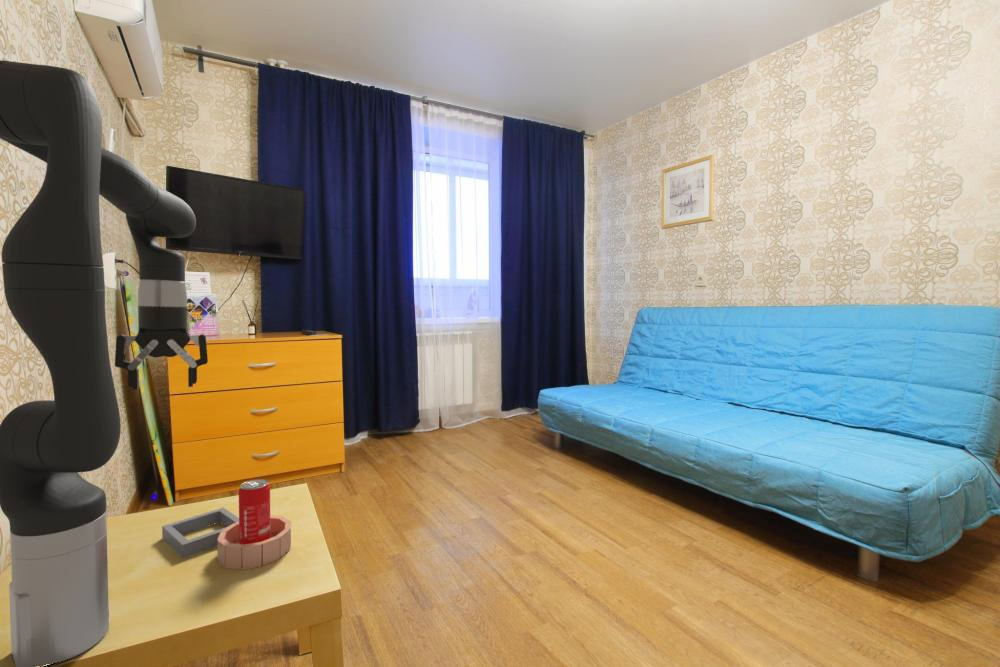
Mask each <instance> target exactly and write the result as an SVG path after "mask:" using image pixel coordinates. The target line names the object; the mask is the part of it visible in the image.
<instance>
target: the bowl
mask: <svg viewBox="0 0 1000 667" xmlns="http://www.w3.org/2000/svg"><path fill="white" fill-rule="evenodd" d="M291 545H292V521H291V520H289V519H288V518H286V517H284V516H281V515H271V514H270V539H267V540H265V541H262V542H257V543H251V544H239V522H236V523H233V524H232V525H230V526H229V527H227V528H226V529H224V530H222V531H221V532H220V535H219V537H218V540H217V546H216V547H217V563H218V564H220V565H221V566H222V567H223V568H225V569H232V570H247V569H253V568H259V567H260V568H261V567H263V566H266V565H269V564H270V563H273V562H276V561H277V560H280V559H281V558H282V557H283V556H285V555H286V554H287V553H288V552H289V551H290V550H291V548H290V547H291ZM288 550H289V551H288ZM286 552H287V553H286ZM285 553H286V554H285Z"/></svg>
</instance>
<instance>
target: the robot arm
mask: <svg viewBox="0 0 1000 667" xmlns="http://www.w3.org/2000/svg"><path fill="white" fill-rule="evenodd" d="M95 92H96V91H95V90H94V88H93V87H92V85H91V84H90V82H89V81H88V80H87V79H86V78H85V76H83V75H82V74H81V73H80V72H77V71H75V70H73V69H69V68H66V67H59V66H55V65H54V66H53V65H48V64H47V65H45V64H37V63H36V64H35V63H28V62H27V63H26V62H18V61H17V62H16V61H10V60H1V59H0V139H1V140H2V141H4V142H7V143H8V144H10V145H12V146H14V147H15V148H17V149H19V150H22V151H23V152H26V153H28V154H30V155H31V156H33V157H36V158H37V159H38V160H41V161H43V162H44V163H46V169H45V170H46V172H45V175H44V179H43V183H42V185H41V187H40V189H39V190H38V193H37V194H36V196H35V197H34V199H33V200H32V201H31V203H30V204H29V206H28V207H27V208H26V209H25V211H24V212H23V213H22V214H21V215H20V217H19V218H18V220H17V221H16V222H15V224H14V225H13V227H12V228H11V230H10V231H9V232H8V234H7V236H6V238H5V240H4V242H3V245H2V248H1V262H2V263H1V264H2V266H1V268H2V276H3V278H2V280H3V288H4V289H3V290H4V297H5V301H6V305H7V306H8V309H9V310H10V312H11V315H12V316H13V318H14V320H15V321H16V322H17V324H18V325H19V327H20V328H21V330H22V331H23V332H24V334H25V335H26V336H27V337H28V339H29V340H30V341H31V343H32V344H33V345H34V347H35V348H36V349H37V350H38V352H39V354H40V355H41V356H42V358H43V360H44V362H45V364H46V366H47V368H48V371H49V374H50V378H51V382H52V388H53V399H54V400H50V399H49V400H44V399H43V400H34V401H29V402H26V403H23V404H21V405H18V406H16V407H15V408H13V409H11V411H10V412H9V413H8V414H6V415H5V417H4V418H3V419H2V421H1V422H0V509H1V511H2V513H3V514H4V516H5V517H6V518H7V520H8V522H9V534H10V535H9V536H10V540H9V542H10V566H11V581H10V582H9V585H8V587H9V614H10V615H9V618H10V619H9V620H10V643H11V644H10V645H11V646H10V647H11V650H10V652H11V651H12V652H11V655H13V656H12V658H14V659H13V661H15V663H14V664H15V665H16V666H15V665H14V666H15V667H36V666H43V665H46V664H52V663H57V662H60V663H62V662H61V661H63V662H65V660H66V661H67V659H68V660H70V659H72V658H74V657H77V656H79V655H81V654H83V653H84V652H86V651H88V650H90V649H91V648H92V647H94V646H95V645H97V644H98V643H99V642H100V641H101V640H102V639H104V637H105V636H106V634H107V633H108V631H109V627H110V609H109V608H110V607H109V578H108V577H109V573H108V572H109V568H108V567H109V566H108V564H109V563H108V529H107V528H108V527H107V526H108V524H107V523H108V522H107V521H108V520H107V495H106V493H105V491H104V490H103V489H102V488H101V487H100V486H97V485H96V484H93V483H92V482H89V481H87V480H86V479H84V477H82V476H81V475H80V474H79V473H87V472H92V471H95V470H98V469H100V468H101V467H103V466H105V465H106V464H107V463H108V462H109V461H110V460H111V459H112V457H113V456H114V455H115V452H116V450H117V449H118V446H119V442H120V439H121V428H122V427H121V424H122V423H121V415H120V409H119V404H118V403H119V402H118V398H117V393H116V388H115V383H114V378H113V372H112V367H111V360H110V354H109V353H110V352H109V342H108V340H109V339H108V331H107V321H106V320H107V318H106V317H107V316H106V290H105V289H106V286H105V271H104V270H105V269H104V259H103V258H104V257H103V250H102V249H103V248H102V238H101V236H102V235H101V234H102V233H101V221H100V220H101V219H100V218H101V217H100V196H101V197H103V198H104V199H105V200H106V201H108V202H109V203H110V204H111V205H113V206H114V207H115V208H117V209H118V210H119V211H121V212H122V213H124V214H125V220H126V223H127V226H128V229H129V231H130V234H131V236H132V239H133V243H134V246H135V248H136V253H137V256H138V272H139V274H138V275H139V276H138V278H139V279H138V280H139V281H138V288H137V289H138V290H137V310H138V311H137V320H138V323H137V324H138V327H137V328H138V329H137V330H138V332H137V334H136V335H126V334H123V333H122V334H119V335H117V336H116V338H115V339H116V340H115V355H114V357H115V358H114V366H115V367H116V368H121V369H125V370H126V371H127V384H128V387H129V388H132V390H133V391H138V390H139V389H140V370H139V369H138V367H139V366H140V365H141V364H142V362H143V361H145V360H146V358H147V357H148V356H150V357H152V358H160V357H166V358H174V357H176V356H179V357H180V358H181V359H182V360H183V361H184V362H185V363H186V364H187V365H188V369H187V374H188V375H187V376H188V377H187V378H188V381H187V382H188V388H192V387H193V386H194V384H195V385H196V384H197V382H198V367H200V366H204V365H207V363H208V361H209V360H208V347H207V345H208V344H207V337H206V335H205V334H203V333H201V334H196V335H190V334H189V333H188V295H187V294H188V293H187V287H186V270H185V269H186V263H185V262H186V261H185V257H184V255H183V254H182V253H181V252H180V251H176V250H172V249H168V248H163V247H162V246H161V245H160V244H159V242H158V239H157V238H170V239H172V238H175V239H181V238H187V237H189V236H190V235H192V234H193V232H194V231H195V229H196V226H197V218H196V215H195V213H194V211H193V209H192V208H191V206H190V205H189V204H188V203H187V202H185V200H183V199H182V198H180V197H179V196H177V195H175V194H173V193H172V192H169V191H167V190H166V189H164V188H162V187H161V186H157V185H156V184H155V183H154V182H153V180H151V179H150V178H149V177H148V176H147V174H145V173H144V172H143V171H142V170H141V169H139V168H138V167H137V166H136V165H134V164H133V163H132V162H131V161H129V160H127V159H125V158H123V157H122V156H120V155H118V154H116V153H114V152H112V151H110V150H108V149H105V148H103V147H102V146H103V121H102V120H103V119H102V118H103V117H102V112H101V108H100V103H99V100H98V98H97V95H96V93H95ZM190 341H191V342H193V343H194V345H195V346H196V347H197V346H198V348H199V349H198V350H199V358H198V359H194V357H193V356H192V355H191V354H190V353H189V352H188V351H187V350H186V349H185V347H186V346H187V345H188V344H189V343H190ZM133 342H135V343H136V344H137V345H138V346H139V347H140V348H141V349H142V350H141V351H140V353H138V354H137V355H136V357H134V359H133V360H132V361H127V359H126V357H127V348H129V347H131V346H132V343H133ZM57 664H58V663H57Z"/></svg>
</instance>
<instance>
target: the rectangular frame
mask: <svg viewBox="0 0 1000 667" xmlns="http://www.w3.org/2000/svg"><path fill="white" fill-rule="evenodd" d="M217 522H219V523H220V524H221V523H222V524H223V525H222V524H221V525H222V526H223V527H222V528H220V529H216V530H214V531H211V532H208V533H205V534H203V535H199V536H195V537H193V538H190V539H187V538H186V537H185V536H184V535H185V534H189V533H191V532H195V531H198V530H201V529H204V528H207V527H210V526H213V525H215V524H214V523H216V524H218V523H217ZM236 522H239V516H237V515H235V514H234V513H232V512H231V511H229V510H227V508H225V507H220V508H217V509H214V510H210V511H207V512H204V513H201V514H198V515H193V516H191V517H188V518H183V519H182V520H178V521H174V522H171V523H168V524H166V525H165V524H164V525H162V527H161V529H162V531H161V532H162V533H161V534H162V536H161V537H162V540H163V541H165V543H166V544H168V546H170V548H172V549H173V550H174V551H175V552H176V554H178V555H179V556H180V557H181V558H182V559H184V558H188V557H190V556H193V555H196V554H198V553H202V552H205V551H206V550H210V549H212V548H215V547H217V540H218V537H219V535H220V532H221V531H222V530H224V529H226V528H227V527H229V526H230V525H232V524H233V523H236ZM212 524H213V525H212ZM209 525H210V526H209ZM225 526H226V527H225Z"/></svg>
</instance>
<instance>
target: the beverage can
mask: <svg viewBox="0 0 1000 667" xmlns="http://www.w3.org/2000/svg"><path fill="white" fill-rule="evenodd" d="M270 515H271V485H270V483H269V481H268V479H262V478H259V479H250V480H247V481H245V482H243V483H241V484H240V486H239V489H238V518H239V544H251V543H257V542H262V541H265V540H267V539H270Z"/></svg>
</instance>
